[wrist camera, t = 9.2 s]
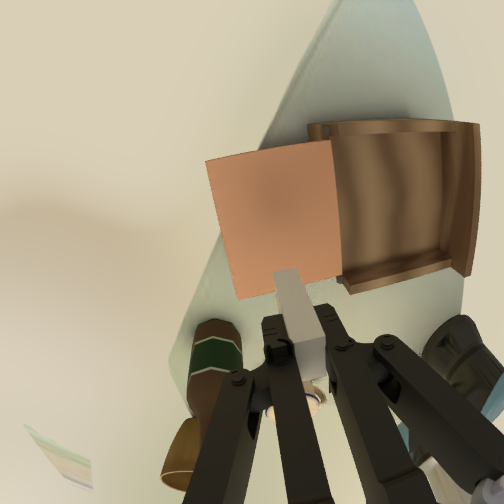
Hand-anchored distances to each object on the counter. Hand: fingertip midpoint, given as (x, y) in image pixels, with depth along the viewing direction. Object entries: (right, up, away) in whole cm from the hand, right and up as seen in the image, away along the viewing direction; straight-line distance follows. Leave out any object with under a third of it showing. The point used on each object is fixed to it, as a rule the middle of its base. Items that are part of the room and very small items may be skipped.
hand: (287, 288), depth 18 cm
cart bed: (+14, +12, +19) cm, 26 cm away
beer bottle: (-8, -11, +27) cm, 30 cm away
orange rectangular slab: (+7, +7, +11) cm, 15 cm away
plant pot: (-14, -37, +38) cm, 55 cm away
